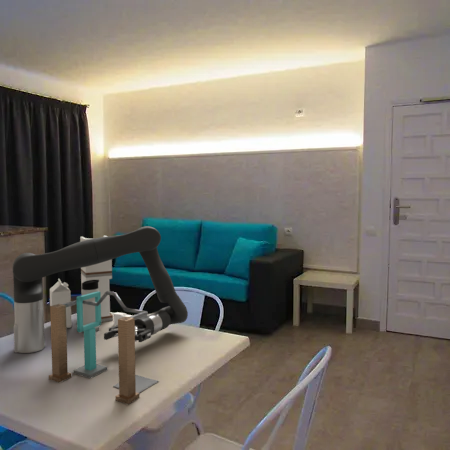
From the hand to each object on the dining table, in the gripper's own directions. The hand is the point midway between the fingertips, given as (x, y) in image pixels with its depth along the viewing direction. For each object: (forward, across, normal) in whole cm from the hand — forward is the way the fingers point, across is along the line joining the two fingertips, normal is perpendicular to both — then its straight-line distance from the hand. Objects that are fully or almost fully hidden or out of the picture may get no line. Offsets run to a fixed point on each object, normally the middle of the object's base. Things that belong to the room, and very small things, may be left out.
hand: (114, 339), depth 144 cm
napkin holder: (-29, -21, +8) cm, 37 cm away
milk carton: (-16, -44, +7) cm, 47 cm away
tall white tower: (-31, -40, +7) cm, 51 cm away
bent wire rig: (+15, +9, +7) cm, 19 cm away
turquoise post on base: (+10, 0, +7) cm, 13 cm away
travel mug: (-19, -30, +7) cm, 36 cm away
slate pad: (+10, +18, +7) cm, 22 cm away
